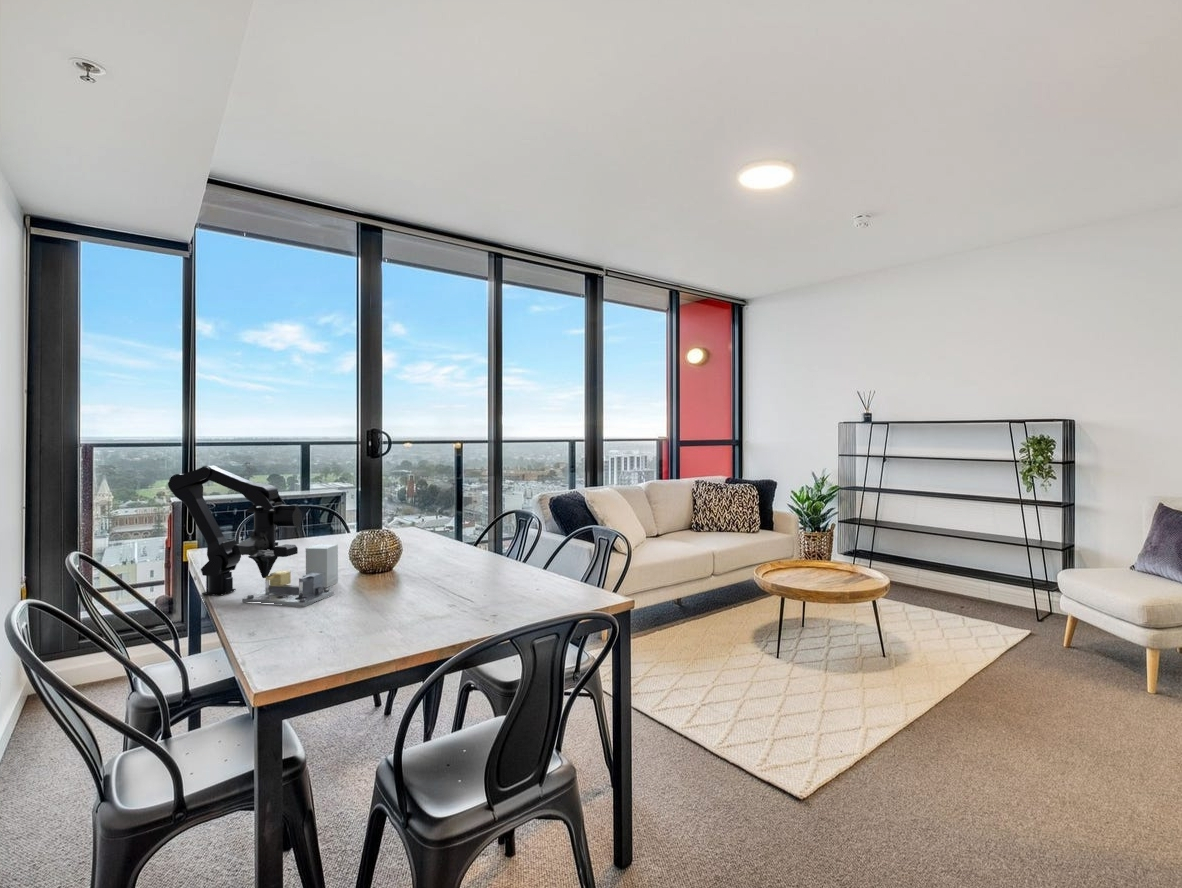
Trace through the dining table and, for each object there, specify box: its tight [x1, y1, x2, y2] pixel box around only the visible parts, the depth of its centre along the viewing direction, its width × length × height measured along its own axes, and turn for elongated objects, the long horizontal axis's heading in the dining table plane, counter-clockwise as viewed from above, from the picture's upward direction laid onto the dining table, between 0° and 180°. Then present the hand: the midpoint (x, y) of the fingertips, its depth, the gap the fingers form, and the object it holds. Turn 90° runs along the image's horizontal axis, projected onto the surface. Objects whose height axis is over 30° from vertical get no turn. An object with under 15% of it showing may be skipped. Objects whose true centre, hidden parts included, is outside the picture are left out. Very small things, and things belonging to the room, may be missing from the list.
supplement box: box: [305, 543, 339, 588], centre depth 196 cm, size 7×7×13 cm
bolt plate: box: [241, 573, 335, 608], centre depth 179 cm, size 20×14×7 cm
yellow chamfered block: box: [264, 570, 292, 595], centre depth 181 cm, size 4×8×5 cm, turn 169°
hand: (264, 577), depth 185 cm, fingers closed
